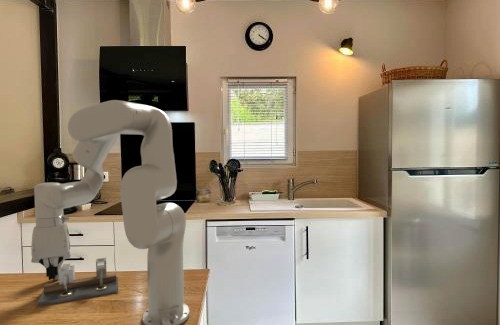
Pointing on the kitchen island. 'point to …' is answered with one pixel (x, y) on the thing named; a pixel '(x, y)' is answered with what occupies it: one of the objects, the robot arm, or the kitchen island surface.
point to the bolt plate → (77, 293)
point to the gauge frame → (99, 278)
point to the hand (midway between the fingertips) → (52, 277)
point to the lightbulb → (58, 266)
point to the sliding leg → (66, 275)
